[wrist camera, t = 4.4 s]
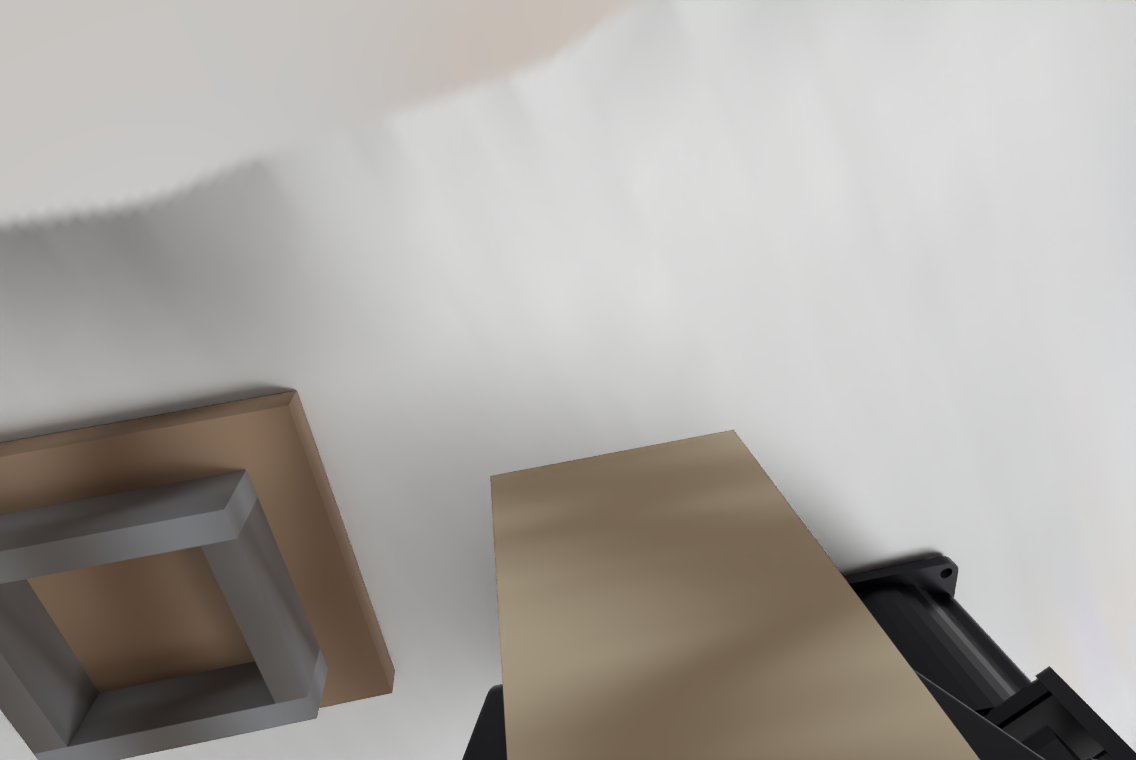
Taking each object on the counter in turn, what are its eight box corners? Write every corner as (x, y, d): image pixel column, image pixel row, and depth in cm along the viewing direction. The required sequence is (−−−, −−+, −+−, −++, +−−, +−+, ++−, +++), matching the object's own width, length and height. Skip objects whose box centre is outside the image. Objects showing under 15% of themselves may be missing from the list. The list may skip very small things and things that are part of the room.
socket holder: (296, 390, 20) (270, 440, 17) (394, 670, 25) (386, 742, 22) (-124, 464, 19) (-221, 529, 16) (67, 738, 24) (17, 821, 22)
